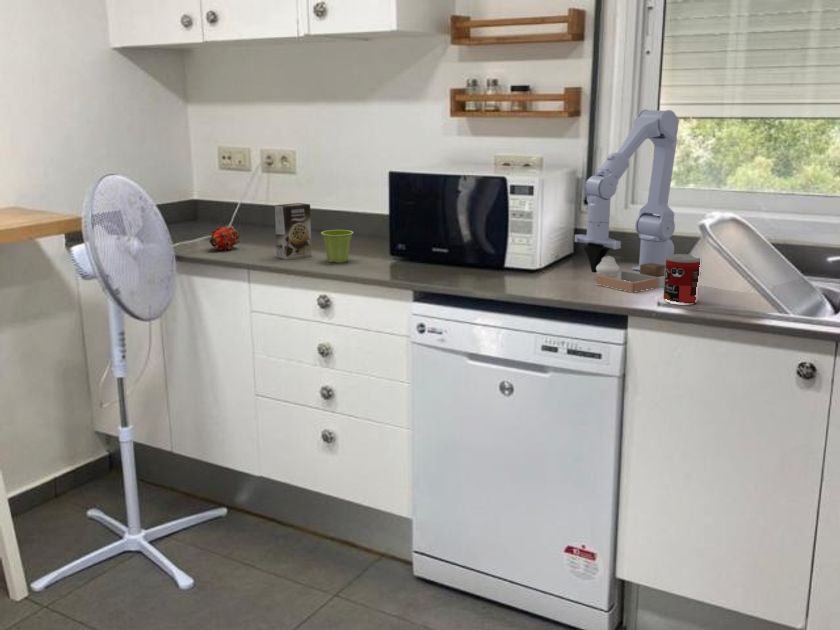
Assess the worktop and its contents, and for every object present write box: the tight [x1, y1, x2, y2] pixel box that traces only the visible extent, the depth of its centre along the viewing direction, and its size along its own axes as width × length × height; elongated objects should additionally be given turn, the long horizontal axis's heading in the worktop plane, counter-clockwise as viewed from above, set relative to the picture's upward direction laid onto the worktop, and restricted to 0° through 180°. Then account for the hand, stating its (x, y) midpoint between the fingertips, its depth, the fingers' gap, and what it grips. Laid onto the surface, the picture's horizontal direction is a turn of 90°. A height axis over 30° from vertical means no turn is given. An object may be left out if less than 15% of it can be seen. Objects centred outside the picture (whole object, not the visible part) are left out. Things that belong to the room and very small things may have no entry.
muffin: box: [596, 255, 621, 279], centre depth 224 cm, size 6×6×7 cm
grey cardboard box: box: [274, 202, 313, 261], centre depth 258 cm, size 9×6×16 cm
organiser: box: [595, 270, 665, 293], centre depth 223 cm, size 20×12×2 cm, turn 127°
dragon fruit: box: [209, 224, 240, 252], centre depth 271 cm, size 8×8×12 cm
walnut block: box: [639, 263, 665, 277], centre depth 225 cm, size 4×4×4 cm
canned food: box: [663, 253, 700, 303], centre depth 202 cm, size 8×8×11 cm
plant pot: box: [320, 229, 354, 264], centre depth 253 cm, size 9×9×9 cm
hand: (595, 271), depth 228 cm, fingers closed
